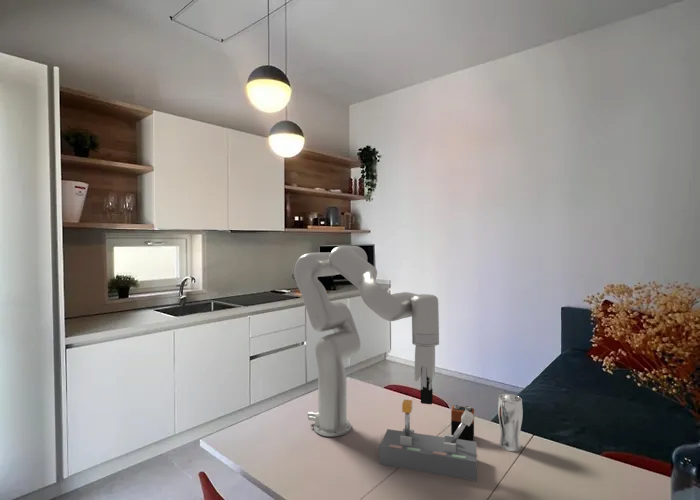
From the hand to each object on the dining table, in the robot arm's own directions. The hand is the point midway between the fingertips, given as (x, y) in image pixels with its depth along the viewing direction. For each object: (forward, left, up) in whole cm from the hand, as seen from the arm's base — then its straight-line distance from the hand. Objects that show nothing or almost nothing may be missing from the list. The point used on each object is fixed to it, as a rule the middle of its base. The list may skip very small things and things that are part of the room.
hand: (426, 402), depth 111 cm
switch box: (0, 0, -17) cm, 17 cm away
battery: (+9, +18, -17) cm, 27 cm away
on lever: (+6, 0, -11) cm, 13 cm away
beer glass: (+23, +16, -17) cm, 33 cm away
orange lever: (-6, 0, -11) cm, 13 cm away
